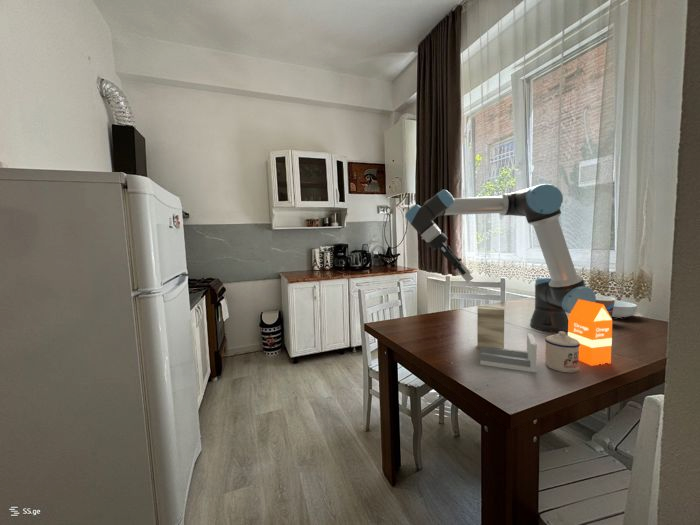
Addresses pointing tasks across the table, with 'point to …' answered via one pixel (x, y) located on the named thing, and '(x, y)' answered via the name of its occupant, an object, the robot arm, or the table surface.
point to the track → (511, 357)
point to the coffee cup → (606, 303)
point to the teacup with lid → (562, 352)
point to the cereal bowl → (624, 309)
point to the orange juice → (591, 332)
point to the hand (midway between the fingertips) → (469, 277)
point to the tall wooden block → (490, 327)
